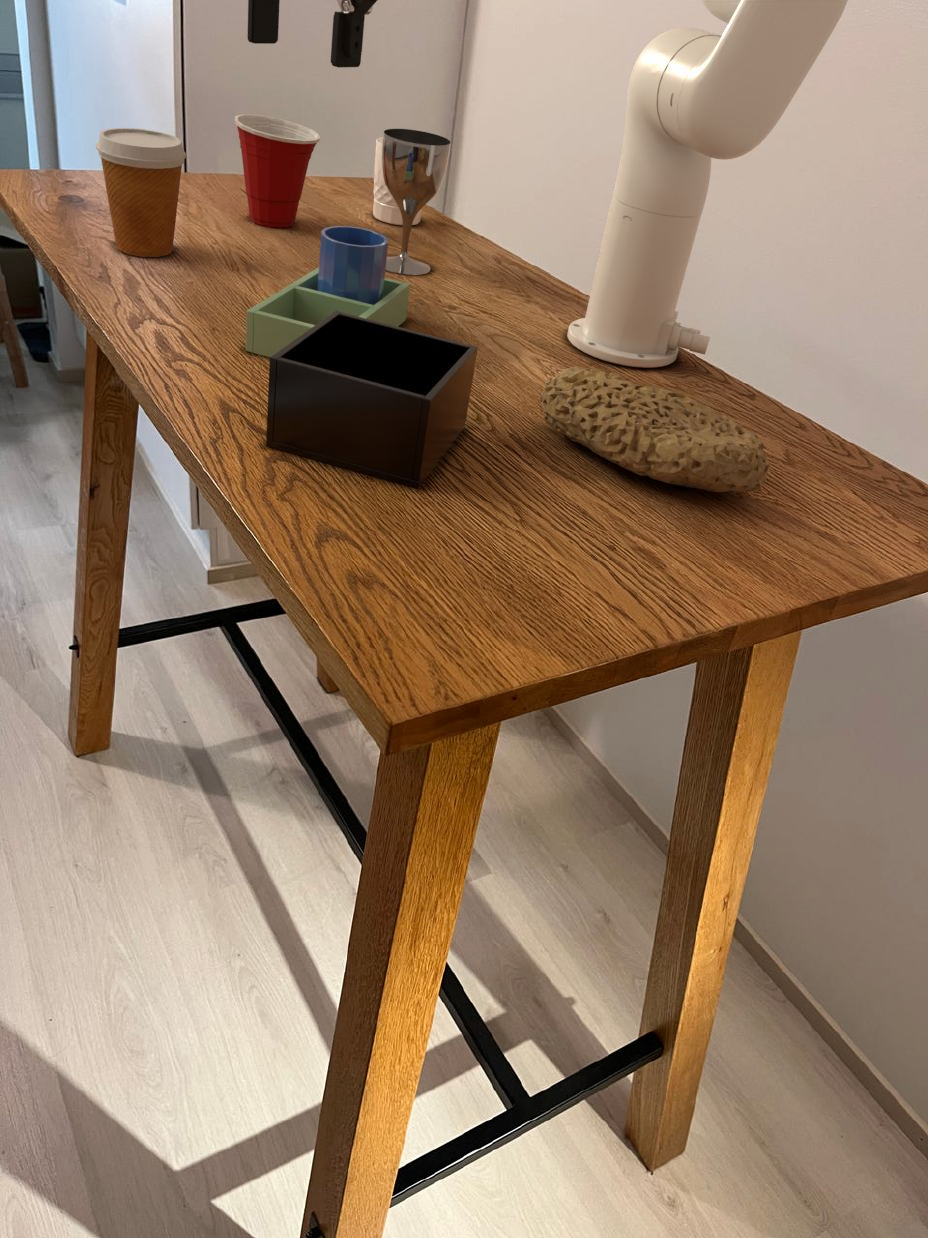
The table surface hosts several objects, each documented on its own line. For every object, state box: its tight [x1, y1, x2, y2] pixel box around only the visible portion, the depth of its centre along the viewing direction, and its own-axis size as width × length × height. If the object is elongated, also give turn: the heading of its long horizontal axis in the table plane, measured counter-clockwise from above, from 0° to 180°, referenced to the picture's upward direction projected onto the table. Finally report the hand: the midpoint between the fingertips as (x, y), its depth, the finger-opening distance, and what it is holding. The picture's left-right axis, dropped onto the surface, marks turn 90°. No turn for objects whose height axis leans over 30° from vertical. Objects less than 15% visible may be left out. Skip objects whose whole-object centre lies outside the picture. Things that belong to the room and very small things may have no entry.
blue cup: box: [317, 225, 389, 305], centre depth 106 cm, size 7×7×9 cm
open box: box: [265, 311, 479, 489], centre depth 85 cm, size 13×13×8 cm
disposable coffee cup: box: [95, 127, 187, 258], centre depth 115 cm, size 10×10×12 cm
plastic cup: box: [234, 113, 321, 228], centre depth 131 cm, size 11×11×12 cm
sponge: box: [540, 365, 771, 493], centre depth 89 cm, size 13×8×20 cm
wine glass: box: [382, 128, 451, 276], centre depth 124 cm, size 8×8×15 cm
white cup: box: [372, 136, 423, 226], centre depth 142 cm, size 8×8×10 cm
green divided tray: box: [245, 266, 411, 358], centre depth 104 cm, size 10×19×4 cm, turn 163°
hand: (303, 54), depth 88 cm, fingers open, 9 cm apart
